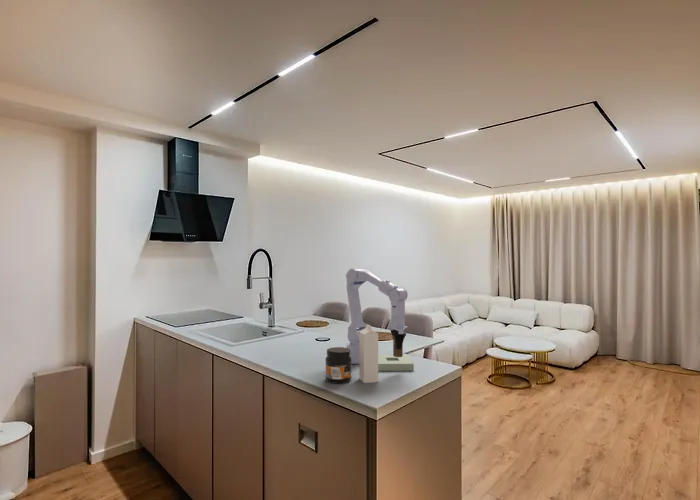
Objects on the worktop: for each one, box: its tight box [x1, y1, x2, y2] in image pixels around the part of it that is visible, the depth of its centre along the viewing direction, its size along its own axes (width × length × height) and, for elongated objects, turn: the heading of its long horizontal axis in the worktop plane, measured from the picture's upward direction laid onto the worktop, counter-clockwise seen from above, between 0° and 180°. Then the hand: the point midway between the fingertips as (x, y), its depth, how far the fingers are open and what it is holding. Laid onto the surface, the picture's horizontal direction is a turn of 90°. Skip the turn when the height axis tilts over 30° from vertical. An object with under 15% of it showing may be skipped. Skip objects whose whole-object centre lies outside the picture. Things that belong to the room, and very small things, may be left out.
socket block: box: [378, 354, 414, 372], centre depth 169 cm, size 16×16×3 cm
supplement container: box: [324, 346, 352, 384], centre depth 148 cm, size 10×10×12 cm
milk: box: [358, 323, 379, 384], centre depth 148 cm, size 6×6×22 cm
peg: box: [392, 336, 404, 357], centre depth 159 cm, size 4×4×10 cm
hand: (397, 347), depth 159 cm, fingers closed on peg, 4 cm apart
